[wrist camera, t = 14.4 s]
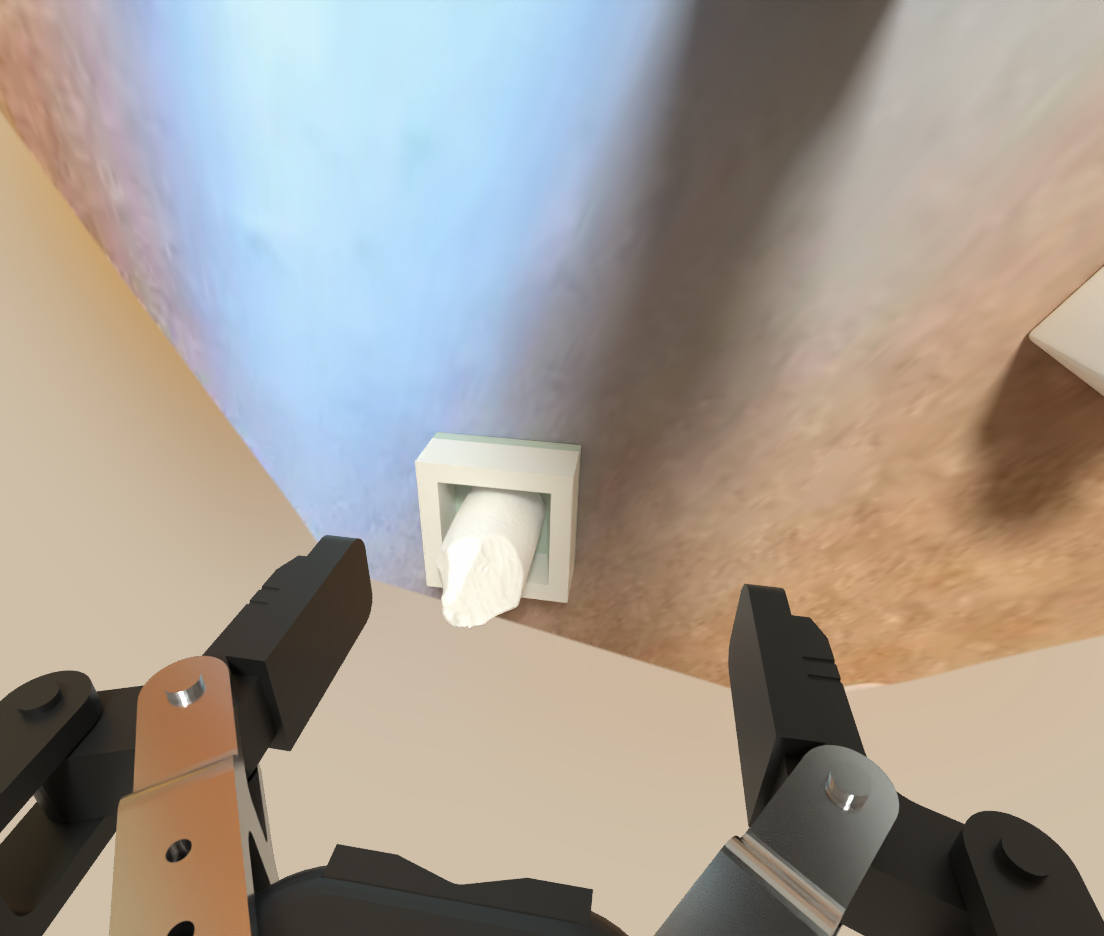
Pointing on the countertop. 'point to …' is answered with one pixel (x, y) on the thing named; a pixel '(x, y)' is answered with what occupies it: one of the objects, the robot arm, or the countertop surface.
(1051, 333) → the medicine bottle
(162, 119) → the countertop surface
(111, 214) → the countertop surface
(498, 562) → the roll
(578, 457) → the socket
